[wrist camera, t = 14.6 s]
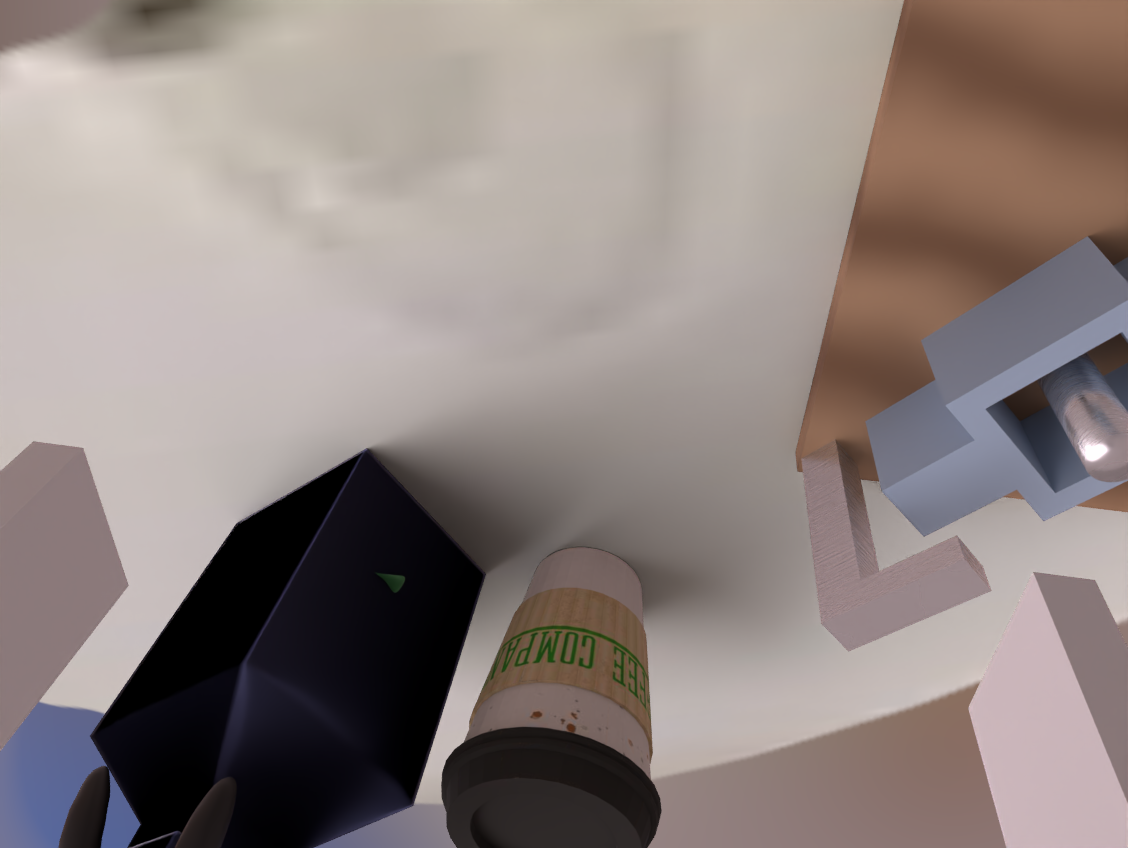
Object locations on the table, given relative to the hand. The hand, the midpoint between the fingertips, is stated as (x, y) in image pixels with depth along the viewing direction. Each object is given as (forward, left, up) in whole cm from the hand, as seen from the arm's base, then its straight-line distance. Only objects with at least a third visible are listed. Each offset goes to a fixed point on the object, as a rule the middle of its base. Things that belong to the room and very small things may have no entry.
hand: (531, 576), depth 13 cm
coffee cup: (+27, -1, -27) cm, 38 cm away
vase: (+26, -14, -27) cm, 40 cm away
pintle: (+8, +17, -27) cm, 33 cm away
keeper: (+13, +12, -27) cm, 32 cm away
